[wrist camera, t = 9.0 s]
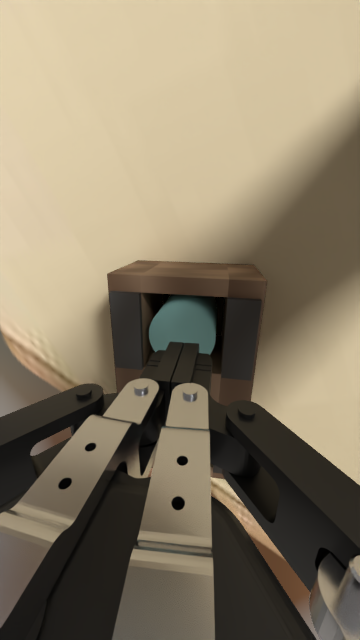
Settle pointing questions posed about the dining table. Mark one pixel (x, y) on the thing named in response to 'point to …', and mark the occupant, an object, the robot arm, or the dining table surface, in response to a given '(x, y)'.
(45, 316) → the dining table surface
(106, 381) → the dining table surface
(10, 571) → the robot arm
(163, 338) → the peg
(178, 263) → the socket block
